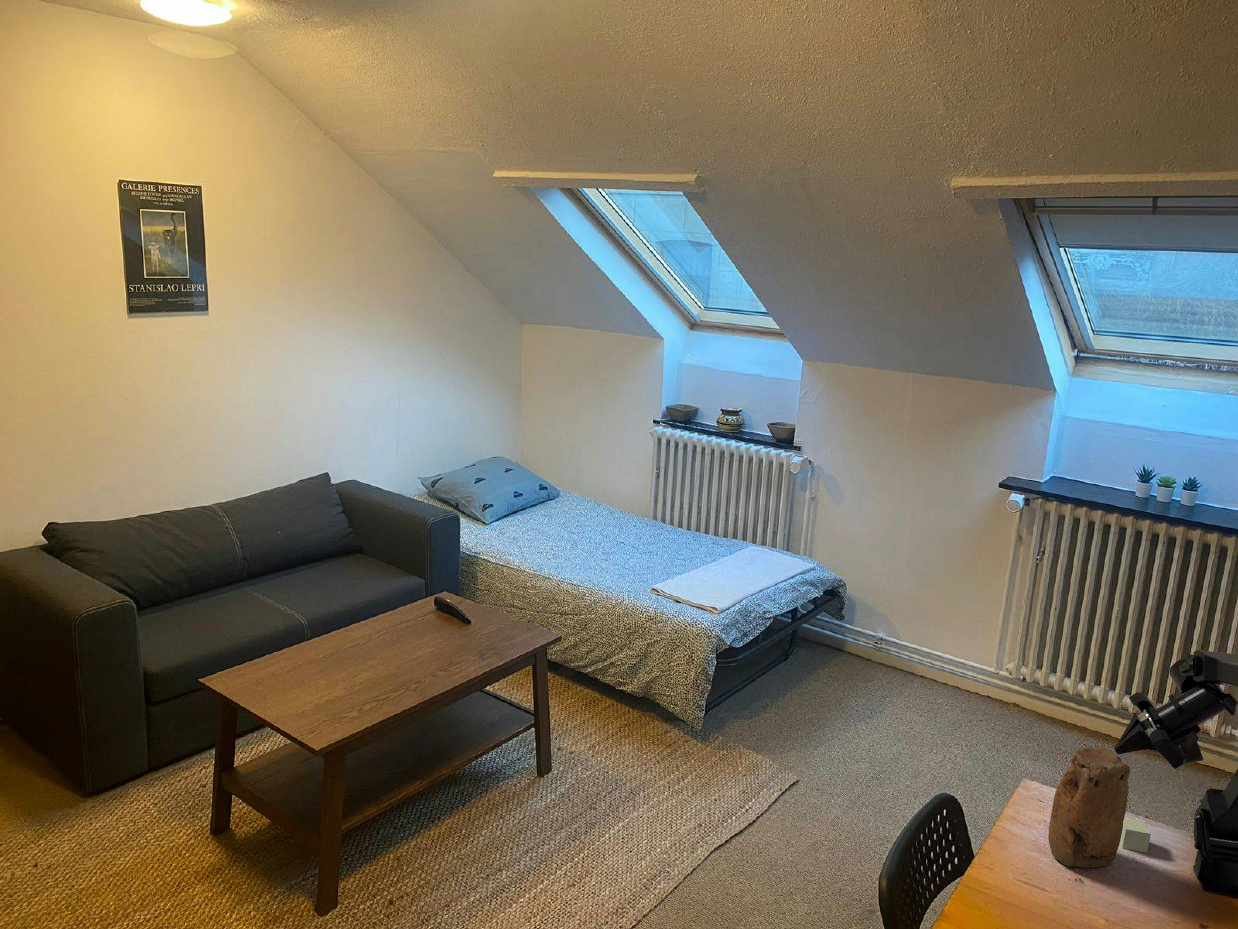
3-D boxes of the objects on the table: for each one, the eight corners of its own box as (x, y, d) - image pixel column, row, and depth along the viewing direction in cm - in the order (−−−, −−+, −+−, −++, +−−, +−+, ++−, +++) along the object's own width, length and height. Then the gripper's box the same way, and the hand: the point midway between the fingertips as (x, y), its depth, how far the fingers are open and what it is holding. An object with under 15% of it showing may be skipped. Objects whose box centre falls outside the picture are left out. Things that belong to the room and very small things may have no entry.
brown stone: (1090, 840, 168) (1108, 742, 163) (1120, 867, 161) (1140, 766, 156) (1038, 847, 166) (1055, 748, 161) (1067, 875, 159) (1085, 772, 154)
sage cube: (1141, 839, 169) (1145, 820, 168) (1146, 853, 165) (1150, 834, 164) (1117, 835, 170) (1121, 816, 169) (1122, 848, 166) (1125, 829, 165)
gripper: (1239, 769, 160) (1157, 812, 165) (1204, 716, 177) (1131, 757, 183) (1196, 721, 160) (1116, 766, 166) (1166, 673, 177) (1094, 715, 183)
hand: (1115, 751), depth 174 cm, fingers closed
